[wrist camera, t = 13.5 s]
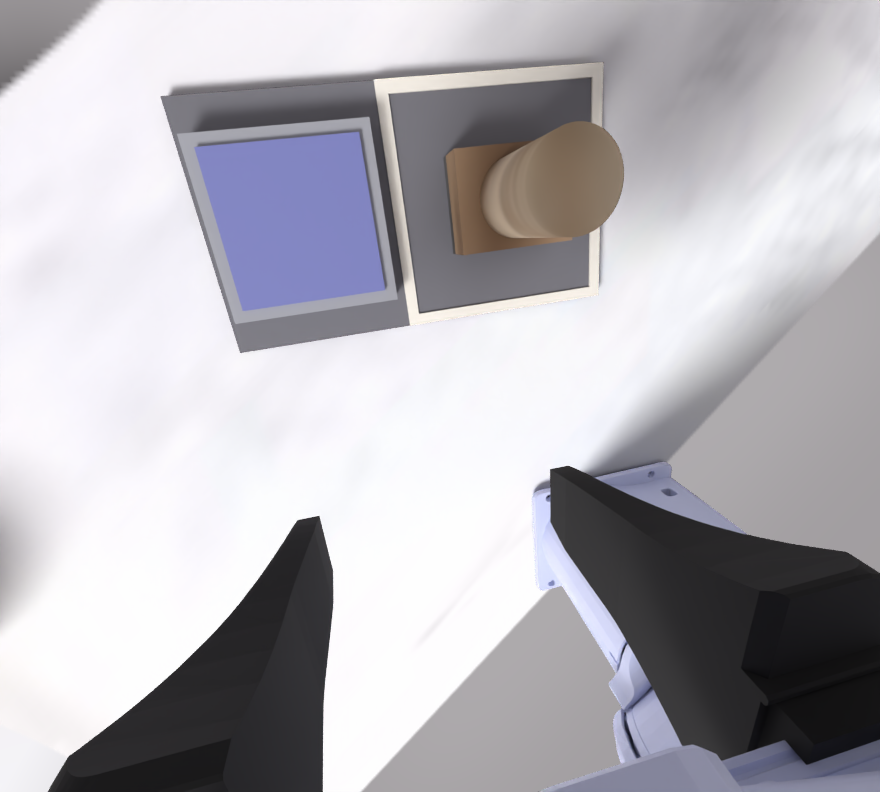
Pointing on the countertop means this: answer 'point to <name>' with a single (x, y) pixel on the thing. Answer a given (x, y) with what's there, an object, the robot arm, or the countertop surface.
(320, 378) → the countertop surface
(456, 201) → the stamp
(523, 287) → the stamp mat
